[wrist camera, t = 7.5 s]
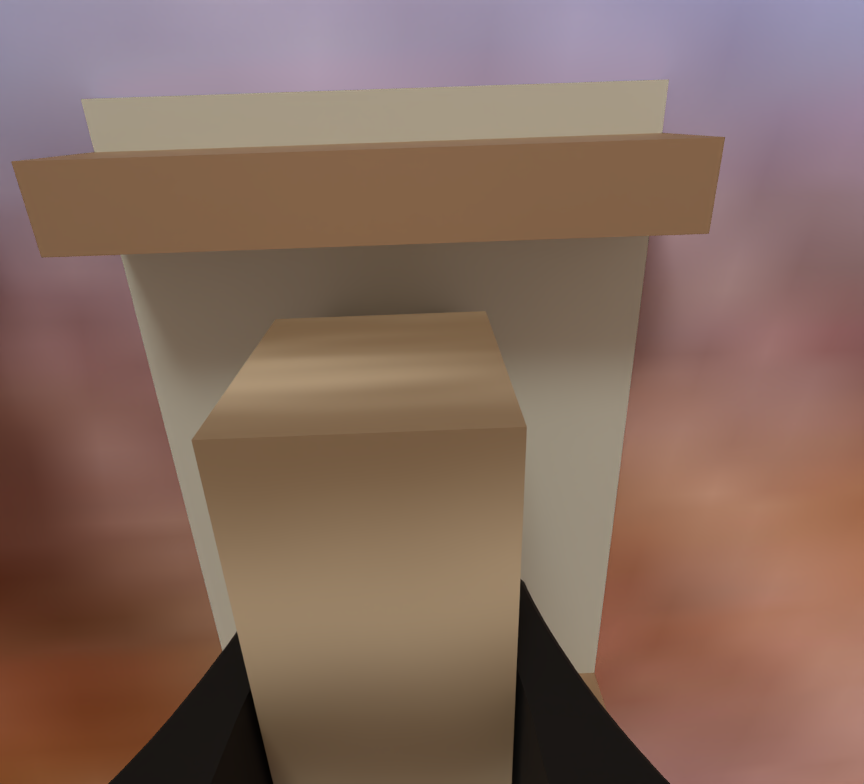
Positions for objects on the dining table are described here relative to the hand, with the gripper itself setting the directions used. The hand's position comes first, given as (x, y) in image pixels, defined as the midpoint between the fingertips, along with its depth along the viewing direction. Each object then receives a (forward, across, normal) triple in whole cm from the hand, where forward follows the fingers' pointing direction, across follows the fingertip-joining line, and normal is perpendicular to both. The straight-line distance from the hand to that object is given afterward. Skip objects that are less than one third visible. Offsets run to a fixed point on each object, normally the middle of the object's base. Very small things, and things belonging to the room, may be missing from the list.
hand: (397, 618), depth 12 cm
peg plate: (+5, 0, 0) cm, 5 cm away
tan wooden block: (+2, 0, 0) cm, 2 cm away
